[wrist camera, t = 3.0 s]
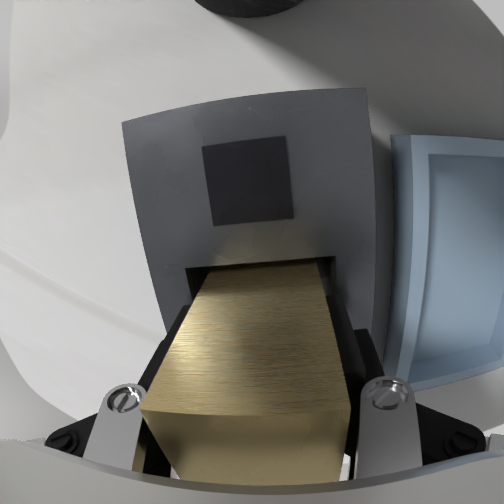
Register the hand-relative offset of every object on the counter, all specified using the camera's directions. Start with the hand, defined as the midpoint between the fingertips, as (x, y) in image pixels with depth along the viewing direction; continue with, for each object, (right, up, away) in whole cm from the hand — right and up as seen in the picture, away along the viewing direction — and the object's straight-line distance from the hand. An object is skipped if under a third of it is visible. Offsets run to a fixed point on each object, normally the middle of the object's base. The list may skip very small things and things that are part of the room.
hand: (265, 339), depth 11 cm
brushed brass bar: (0, +1, +4) cm, 4 cm away
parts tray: (+11, +2, +4) cm, 12 cm away
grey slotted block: (+1, +2, +5) cm, 6 cm away
